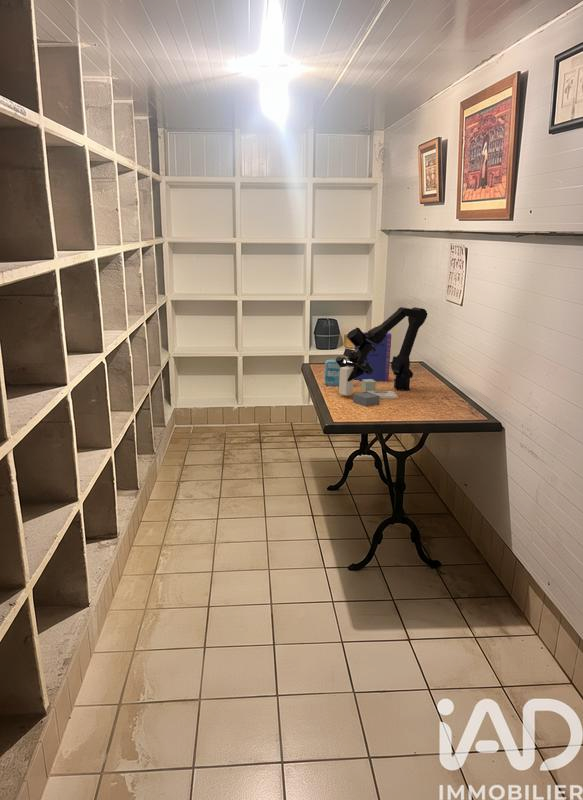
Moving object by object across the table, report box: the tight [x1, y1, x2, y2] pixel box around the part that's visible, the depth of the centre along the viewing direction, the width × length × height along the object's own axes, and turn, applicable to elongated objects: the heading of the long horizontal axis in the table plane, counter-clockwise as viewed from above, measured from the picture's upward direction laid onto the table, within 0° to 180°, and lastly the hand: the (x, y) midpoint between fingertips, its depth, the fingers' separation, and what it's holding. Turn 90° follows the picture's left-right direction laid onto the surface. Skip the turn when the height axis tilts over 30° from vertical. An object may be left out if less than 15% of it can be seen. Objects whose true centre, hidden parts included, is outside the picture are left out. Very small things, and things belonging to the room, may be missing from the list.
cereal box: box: [353, 331, 392, 382], centre depth 304 cm, size 17×5×24 cm, turn 88°
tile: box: [367, 390, 398, 399], centre depth 276 cm, size 12×9×1 cm
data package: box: [324, 359, 352, 387], centre depth 294 cm, size 12×4×12 cm, turn 93°
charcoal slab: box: [352, 391, 380, 407], centre depth 263 cm, size 8×8×4 cm
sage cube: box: [361, 379, 377, 392], centre depth 285 cm, size 5×5×5 cm
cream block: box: [338, 366, 354, 396], centre depth 272 cm, size 4×4×12 cm
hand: (344, 380), depth 270 cm, fingers closed on cream block, 4 cm apart
